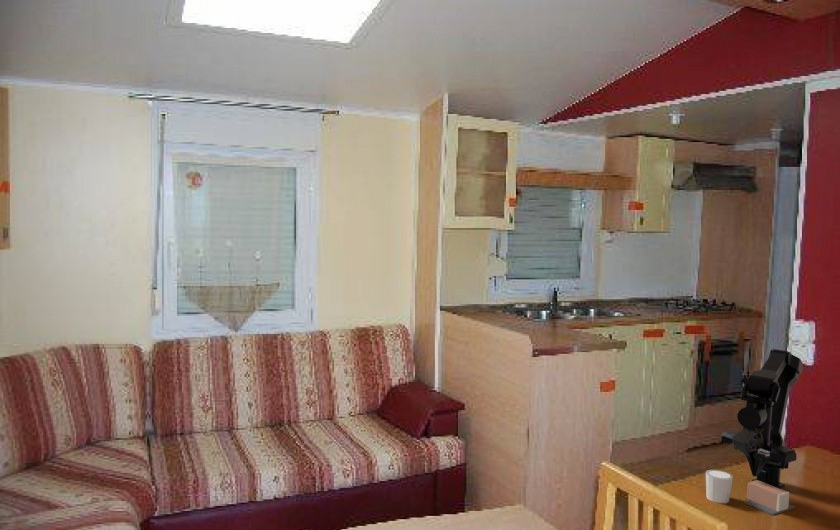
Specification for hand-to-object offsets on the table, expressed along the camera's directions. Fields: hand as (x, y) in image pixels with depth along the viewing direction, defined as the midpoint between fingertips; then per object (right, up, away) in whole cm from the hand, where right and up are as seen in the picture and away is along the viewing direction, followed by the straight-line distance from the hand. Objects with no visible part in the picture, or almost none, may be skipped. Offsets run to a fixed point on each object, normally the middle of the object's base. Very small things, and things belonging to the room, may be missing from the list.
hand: (755, 476), depth 176 cm
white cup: (-10, -6, 0) cm, 12 cm away
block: (0, -4, +1) cm, 4 cm away
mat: (+2, -7, -3) cm, 8 cm away
